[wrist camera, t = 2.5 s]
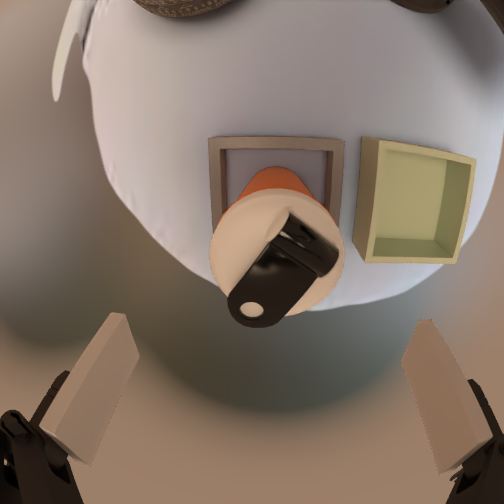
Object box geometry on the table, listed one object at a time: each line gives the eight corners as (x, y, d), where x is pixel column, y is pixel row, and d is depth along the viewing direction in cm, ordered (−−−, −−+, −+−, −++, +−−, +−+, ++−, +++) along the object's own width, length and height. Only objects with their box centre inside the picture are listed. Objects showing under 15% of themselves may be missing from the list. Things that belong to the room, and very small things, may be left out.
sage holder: (361, 136, 29) (379, 139, 24) (450, 152, 28) (476, 159, 23) (352, 241, 35) (364, 262, 30) (435, 244, 34) (455, 263, 29)
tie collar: (214, 136, 31) (206, 138, 27) (337, 139, 30) (346, 141, 26) (221, 263, 38) (215, 280, 34) (327, 266, 37) (332, 283, 33)
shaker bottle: (227, 209, 35) (178, 307, 17) (259, 145, 31) (239, 175, 13) (290, 240, 36) (302, 358, 18) (325, 181, 32) (385, 255, 14)
